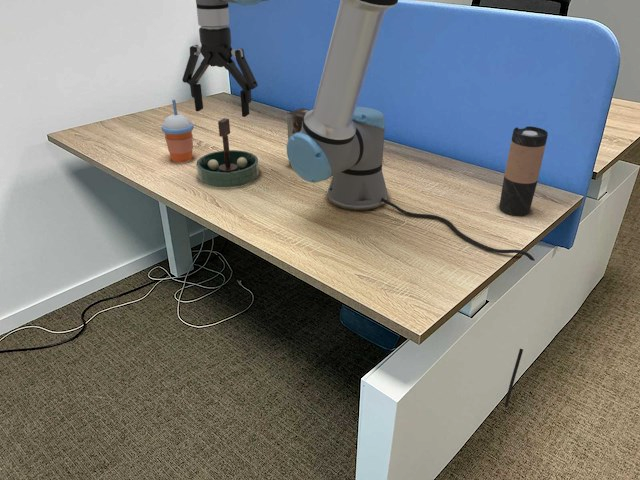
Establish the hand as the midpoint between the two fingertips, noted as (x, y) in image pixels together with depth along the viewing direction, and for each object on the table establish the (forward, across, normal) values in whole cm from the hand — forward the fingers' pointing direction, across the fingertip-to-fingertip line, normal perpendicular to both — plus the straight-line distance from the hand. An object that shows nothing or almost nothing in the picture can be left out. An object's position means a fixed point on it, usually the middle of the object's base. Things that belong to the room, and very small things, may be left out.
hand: (222, 112), depth 138 cm
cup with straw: (+18, +19, -6) cm, 27 cm away
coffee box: (+18, -19, -13) cm, 29 cm away
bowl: (+18, 0, 0) cm, 18 cm away
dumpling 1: (+18, +5, -1) cm, 18 cm away
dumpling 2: (+18, -2, -6) cm, 18 cm away
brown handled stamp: (+18, 0, 0) cm, 18 cm away
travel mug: (+18, -76, -5) cm, 79 cm away
